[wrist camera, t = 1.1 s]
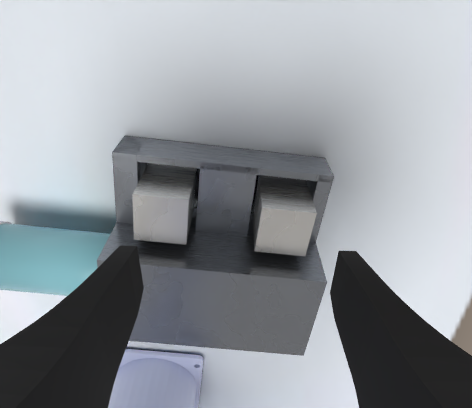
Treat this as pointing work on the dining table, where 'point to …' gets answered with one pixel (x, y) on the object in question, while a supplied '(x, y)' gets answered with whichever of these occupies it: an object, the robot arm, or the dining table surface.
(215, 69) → the dining table surface
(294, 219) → the plunger
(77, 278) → the cylinder
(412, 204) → the dining table surface
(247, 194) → the housing
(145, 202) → the plunger
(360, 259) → the robot arm
